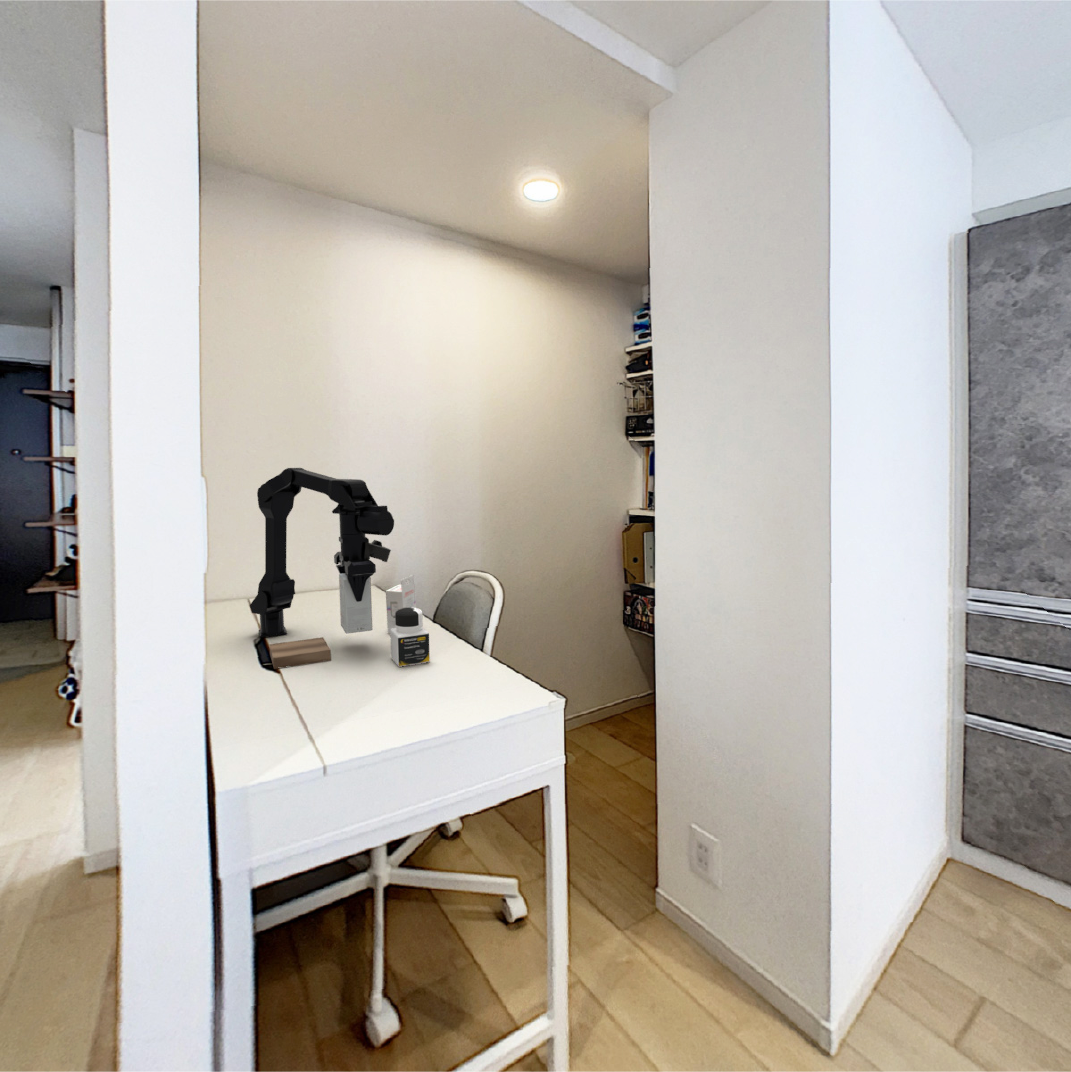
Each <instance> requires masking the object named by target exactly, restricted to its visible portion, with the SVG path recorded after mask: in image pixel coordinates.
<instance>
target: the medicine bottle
mask: <svg viewBox="0 0 1071 1072" xmlns="http://www.w3.org/2000/svg"><path fill="white" fill-rule="evenodd" d="M395 621H396V628H392V629H390V634H389V635H390V637H389V638H390V658H391V659H392V661H393V662H394V664H396V665H397V666H398V668H403V667H402V666H404V667H407V666H406V665H410V666H414V665H415V664H416V665H421V663H422V664H427V663H426V662H428V663H430V632H429V631H428V630H426V629H425V628H424V623H423V611H422V609H420V608H418V607H416V608H402V609H400V610H398V611H396V613H395ZM416 665H415V666H416Z"/></svg>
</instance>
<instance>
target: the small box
mask: <svg viewBox="0 0 1071 1072" xmlns="http://www.w3.org/2000/svg"><path fill="white" fill-rule="evenodd" d="M345 574H346V573H341V574H340V573H339V574H338V587H339V613H340V627H341V628H342V630H343V631H344V633H345V634H356V633H362V632H370V631H373V609H372V607H373V606H372V604H373V603H372V583H371V582H372V578H371V577H372V576H370V577H369V578H368V579H367V580H366V584H365V588H364V592H363V597H362V601H359V602H357V601H356V599H355V597H354V594H353V592H352V590H351V587H350V585H349V582H348V580H347V578H346V575H345Z"/></svg>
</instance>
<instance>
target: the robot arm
mask: <svg viewBox="0 0 1071 1072" xmlns="http://www.w3.org/2000/svg"><path fill="white" fill-rule="evenodd" d="M302 488H304V489H307V490H311V491H314V492H317V493H320V494H324V495H326V496H328V498H329V500H331V501H333V502H335V503H337V505H336V507H334V508H333V509H332V511H331V513H332V514H336V515H337V514H338V516H339V536H338V542H339V543H340V551H336V553H335V554H334V555H333V563H334V565H335V567H336V569H337V571H338V573H339V574H341V573H346V574H345V575H346V578H347V580H348V582H349V585H350V587H351V590H352V592H353V594H354V597H355V599H356V601H357V602H359V601H362V597H363V592H364V588H365V584H366V580H367V579H368V578H369V577H372V576H373V575H374V574H375V573H377V569H376V563H375V562H373V561H372V560H371V558H372V559H377V560H380V561H382V562H384V563H388V560H389V557H390V554H391V551H392V550H391V549H390V548H388V547H385V546H383V543H382V541H379V540H376V539H374V540H373V541H371V542H370V540H369V538H368V536H366V535H373V536H374V535H375V536H388V535H390V534H391V533H392V532H393V530H394V526H395V519H394V518H393V517H394V516H393V514H392V513H391V512H390V511H388V508H389V507H388V505H378V504H377V501H376V500H375V499H374V497H373V495H372V493H371V491H370V490H369V488H368V486H367V483H366V481H365V480H363V479H357V478H356V479H354V478H353V479H352V478H336V477H335V478H334V477H332V476H328V475H326V474H325V475H324V474H321V473H317V472H313V471H311V470H306V469H304V468H303V467H287V468H285V469H284V470H282V471H281V472H280V473H279V474H277V475H276V476H274V477H272V478H270V479H268V480H267V481H266V482H265V483H262V484H261V485H260V486H259V487H258V489H257V492H256V494H257V503H258V508H259V510H260V511H261V514H262V515H263V516H264V519H265V520H264V522H265V524H264V525H265V527H264V528H265V531H264V532H265V537H264V539H265V546H264V547H265V561H264V562H265V565H264V566H265V568H264V569H265V570H264V571H265V572H264V574H263V576H262V578H261V580H260V581H259V583H258V589H257V595H256V596H255V597H254V599H253V600H252V602H251V603H250V604H249V608H250V612H251V613H252V614H255V615H259V624H260V625H259V626H260V629H258V635H259V638H266V637H265V636H269V637H274V636H283V635H287V634H288V631H287V629H286V627H285V618H284V617H285V616H284V610H285V609H290V608H291V606H292V602H293V599H294V596H295V595H296V591H295V586H296V585H295V584H296V581H295V579H294V578H291V577H290V576H289V574H288V573H287V536H288V535H287V531H288V530H287V528H288V527H287V523H288V522H287V519H288V517H289V515H290V513H291V512H292V511H293V508H294V503H295V502H294V501H295V497H297V495H299V494H300V493H301V491H302Z"/></svg>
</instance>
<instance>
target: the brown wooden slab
mask: <svg viewBox="0 0 1071 1072" xmlns="http://www.w3.org/2000/svg"><path fill="white" fill-rule="evenodd" d="M268 645H269V656H270V659H271V662H272V666H273V669H274V670H275V669H276V670H277V669H278V670H279V668H278V667H284V668H287V667H286V666H291V667H296V666H297V667H298V666H301V665H302V666H303V665H309V664H317V663H323V662H330V661H332V654H331V653H332V652H331V648H330V646H329V645H328V643H327V641H326V640H325V638H324V636H323V637H322V636H321V637H316V638H315V637H314V638H308V639H307V638H306V639H302V640H301V639H300V640H293V641H285V642H278V643H277V642H275V643H271V644H270V643H269V644H268Z"/></svg>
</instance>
